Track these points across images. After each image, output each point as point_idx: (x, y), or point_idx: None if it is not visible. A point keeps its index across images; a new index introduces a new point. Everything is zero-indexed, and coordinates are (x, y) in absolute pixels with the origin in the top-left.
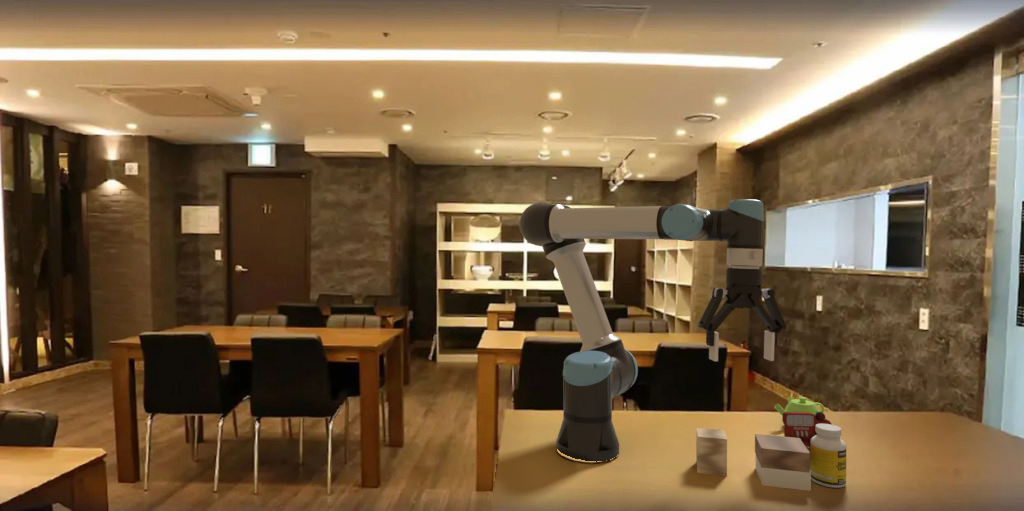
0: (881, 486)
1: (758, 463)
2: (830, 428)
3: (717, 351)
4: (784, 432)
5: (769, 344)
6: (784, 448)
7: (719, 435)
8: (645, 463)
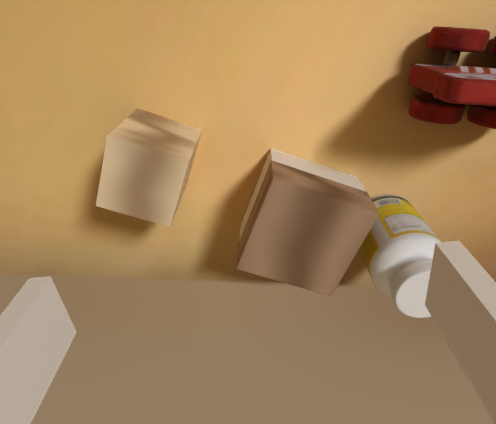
0: (470, 239)
1: (255, 198)
2: (422, 304)
3: (43, 385)
4: (427, 70)
5: (484, 383)
6: (291, 272)
7: (159, 201)
8: (7, 111)
